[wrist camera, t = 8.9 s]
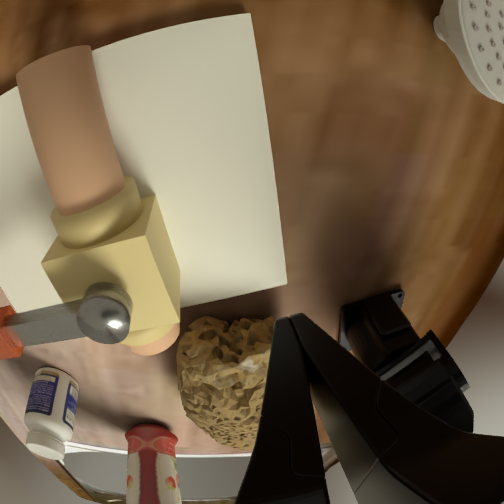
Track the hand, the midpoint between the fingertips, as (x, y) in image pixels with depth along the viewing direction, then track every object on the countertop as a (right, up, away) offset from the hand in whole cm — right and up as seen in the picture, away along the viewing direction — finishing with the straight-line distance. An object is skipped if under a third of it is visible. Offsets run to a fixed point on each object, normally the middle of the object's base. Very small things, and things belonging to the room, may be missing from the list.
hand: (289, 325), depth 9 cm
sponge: (-2, -10, +21) cm, 23 cm away
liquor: (-14, -21, +25) cm, 36 cm away
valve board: (-11, +5, +9) cm, 15 cm away
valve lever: (-13, -1, +5) cm, 14 cm away
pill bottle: (-22, -11, +18) cm, 30 cm away
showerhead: (+12, +18, +5) cm, 23 cm away
